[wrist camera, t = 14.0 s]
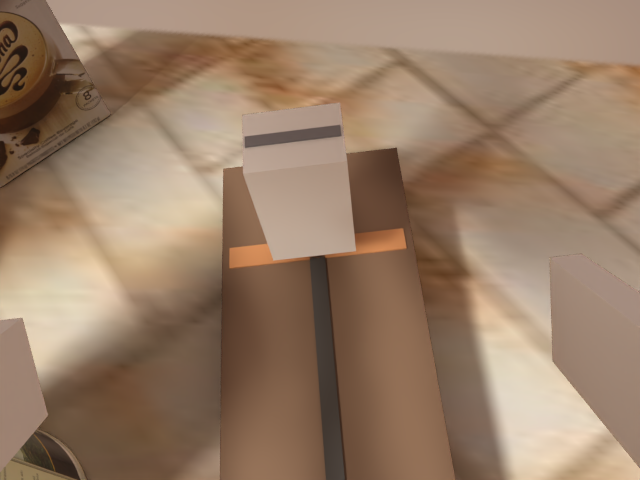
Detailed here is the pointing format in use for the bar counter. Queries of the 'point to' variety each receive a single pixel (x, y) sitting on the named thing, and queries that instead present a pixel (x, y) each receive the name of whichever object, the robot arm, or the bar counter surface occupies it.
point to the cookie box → (40, 88)
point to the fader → (299, 180)
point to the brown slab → (329, 346)
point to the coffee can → (43, 461)
